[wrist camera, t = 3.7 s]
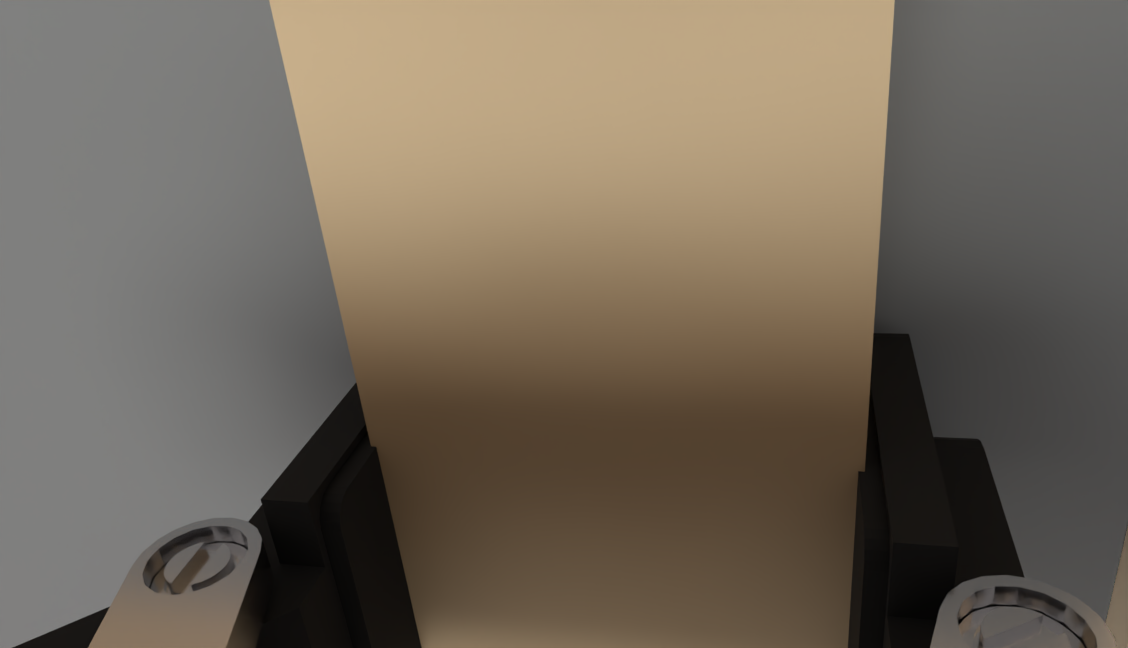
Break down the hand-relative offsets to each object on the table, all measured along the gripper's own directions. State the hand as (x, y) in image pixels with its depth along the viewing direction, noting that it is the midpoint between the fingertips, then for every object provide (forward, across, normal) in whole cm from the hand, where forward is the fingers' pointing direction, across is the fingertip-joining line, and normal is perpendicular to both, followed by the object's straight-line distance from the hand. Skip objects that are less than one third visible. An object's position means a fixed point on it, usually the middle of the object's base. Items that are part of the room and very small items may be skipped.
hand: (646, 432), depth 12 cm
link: (0, 0, +2) cm, 3 cm away
